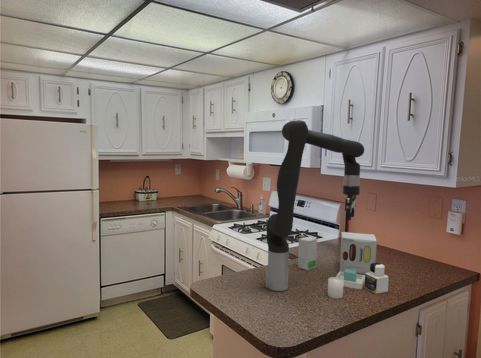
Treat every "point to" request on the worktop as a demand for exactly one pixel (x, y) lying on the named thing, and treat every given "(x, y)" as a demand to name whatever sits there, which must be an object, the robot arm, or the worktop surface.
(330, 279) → the white rounded dome
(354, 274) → the block
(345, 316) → the worktop surface
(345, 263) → the supplement box
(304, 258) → the skincare box
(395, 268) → the worktop surface
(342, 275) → the tray
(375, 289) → the medicine bottle
